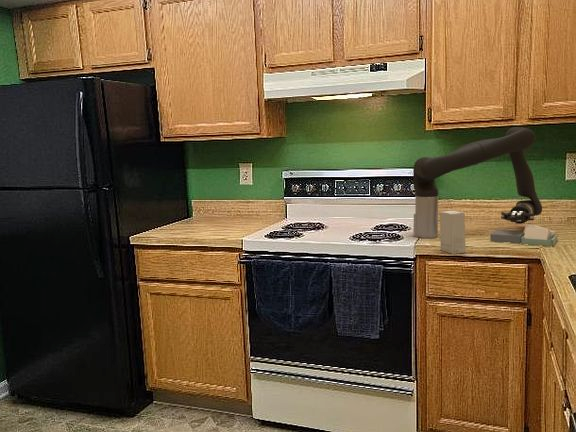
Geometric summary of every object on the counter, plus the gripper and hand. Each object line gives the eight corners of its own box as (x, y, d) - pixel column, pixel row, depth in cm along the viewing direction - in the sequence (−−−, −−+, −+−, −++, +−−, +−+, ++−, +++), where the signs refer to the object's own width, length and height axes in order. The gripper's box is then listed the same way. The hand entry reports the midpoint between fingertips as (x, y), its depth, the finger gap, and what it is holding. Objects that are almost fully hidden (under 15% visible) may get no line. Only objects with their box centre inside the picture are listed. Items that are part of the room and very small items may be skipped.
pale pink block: (525, 226, 200) (548, 228, 196) (527, 229, 204) (550, 230, 199) (523, 239, 200) (546, 241, 195) (526, 241, 203) (548, 243, 198)
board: (490, 241, 207) (490, 234, 206) (496, 236, 216) (496, 229, 215) (520, 243, 201) (520, 236, 200) (525, 238, 210) (525, 231, 209)
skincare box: (465, 253, 189) (466, 212, 186) (450, 254, 187) (451, 213, 185) (453, 248, 197) (453, 209, 195) (438, 249, 195) (439, 210, 193)
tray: (520, 244, 200) (520, 238, 199) (526, 238, 210) (527, 232, 210) (552, 247, 194) (552, 240, 193) (557, 240, 204) (557, 234, 204)
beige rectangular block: (526, 223, 204) (552, 232, 198) (528, 222, 207) (555, 231, 201) (522, 233, 205) (549, 242, 199) (525, 232, 208) (551, 241, 202)
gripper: (504, 203, 219) (495, 209, 205) (539, 204, 211) (531, 210, 197) (504, 221, 220) (494, 227, 206) (538, 223, 213) (531, 230, 198)
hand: (512, 219), depth 201 cm, fingers closed
